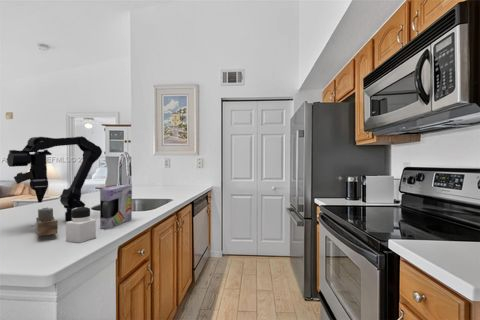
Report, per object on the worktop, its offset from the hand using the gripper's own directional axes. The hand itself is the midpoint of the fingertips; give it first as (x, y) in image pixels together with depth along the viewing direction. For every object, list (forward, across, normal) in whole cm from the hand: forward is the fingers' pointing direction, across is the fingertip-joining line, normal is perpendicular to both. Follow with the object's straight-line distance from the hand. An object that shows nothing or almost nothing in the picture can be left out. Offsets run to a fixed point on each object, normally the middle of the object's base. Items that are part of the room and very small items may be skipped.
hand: (39, 201), depth 120 cm
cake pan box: (+13, +13, +28) cm, 34 cm away
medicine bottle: (+12, +30, +12) cm, 35 cm away
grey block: (+8, +7, +2) cm, 11 cm away
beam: (+12, +12, +2) cm, 17 cm away
